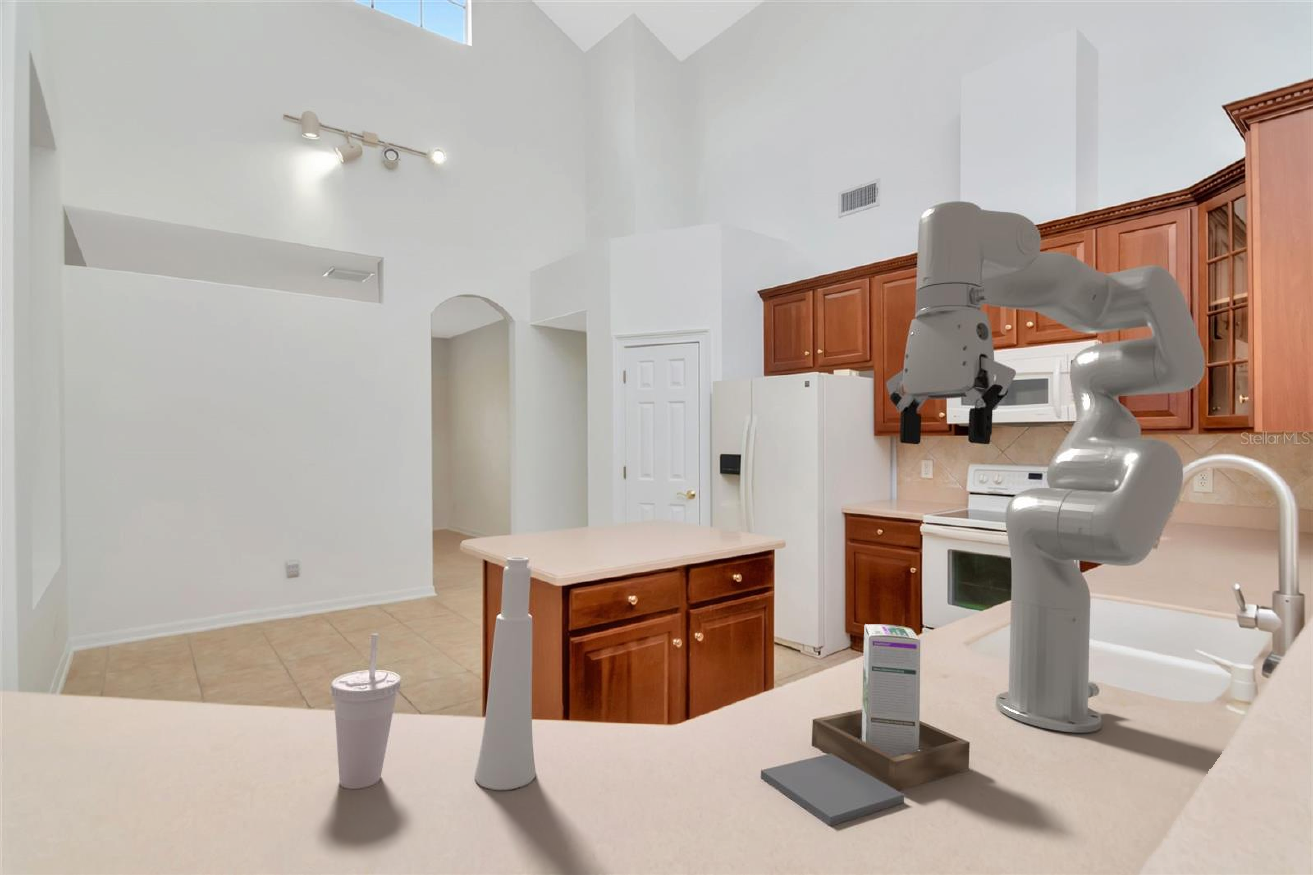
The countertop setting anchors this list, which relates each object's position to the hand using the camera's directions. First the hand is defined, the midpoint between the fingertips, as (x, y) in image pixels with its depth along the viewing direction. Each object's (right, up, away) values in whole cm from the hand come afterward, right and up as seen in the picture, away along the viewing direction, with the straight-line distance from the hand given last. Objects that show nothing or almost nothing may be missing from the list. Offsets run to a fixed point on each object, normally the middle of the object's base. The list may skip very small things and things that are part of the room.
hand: (942, 443), depth 81 cm
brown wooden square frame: (-9, -36, -5) cm, 37 cm away
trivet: (-18, -35, -14) cm, 42 cm away
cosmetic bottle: (-51, -34, -14) cm, 63 cm away
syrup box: (-9, -36, -5) cm, 38 cm away
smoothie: (-64, -33, -17) cm, 74 cm away
